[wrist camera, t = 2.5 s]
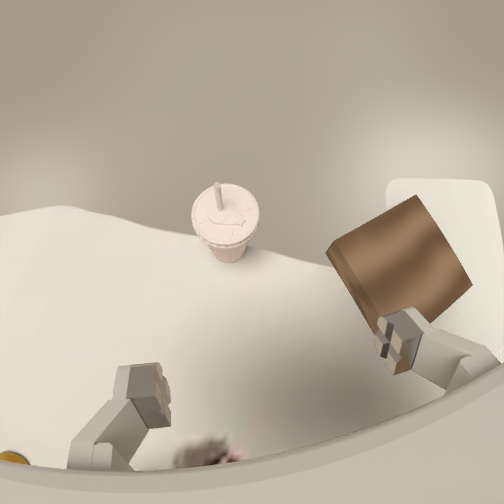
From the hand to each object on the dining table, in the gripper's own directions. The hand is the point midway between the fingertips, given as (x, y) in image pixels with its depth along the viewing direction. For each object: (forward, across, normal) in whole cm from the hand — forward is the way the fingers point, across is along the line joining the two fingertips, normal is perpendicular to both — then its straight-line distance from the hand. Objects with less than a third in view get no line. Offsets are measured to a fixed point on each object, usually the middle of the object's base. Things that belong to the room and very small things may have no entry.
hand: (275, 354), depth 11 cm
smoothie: (+27, 0, +9) cm, 29 cm away
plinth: (+21, -20, +14) cm, 33 cm away
